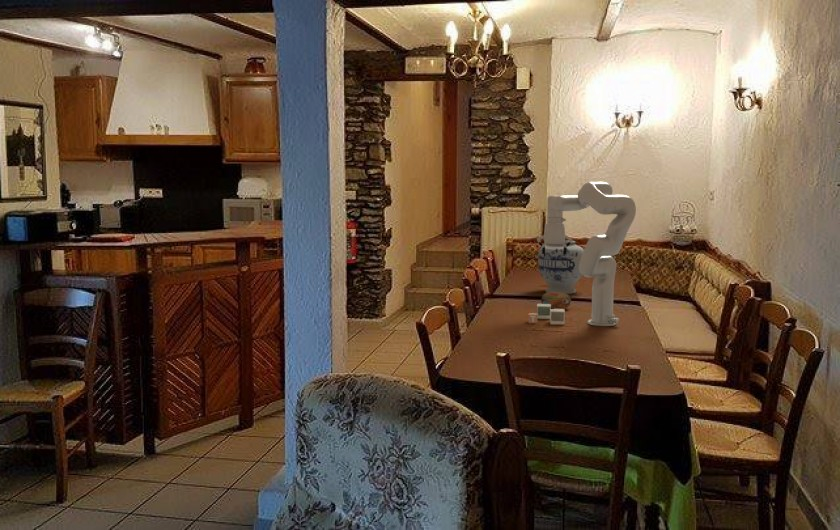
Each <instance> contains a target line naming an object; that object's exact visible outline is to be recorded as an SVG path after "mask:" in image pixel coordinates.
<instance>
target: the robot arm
mask: <svg viewBox="0 0 840 530" xmlns="http://www.w3.org/2000/svg"><path fill="white" fill-rule="evenodd" d="M546 203H547V204H546V209H547V210H546V223H545V224H544V233H543V235H541V236H539V237H537V238H536V241H537V244H538V245H539V246H540V248H542V254H544V256H545V246H546V245H548V244H563V246H564V251H563V256H565V254H566V251H567V247H568V246H569V245H570V244H571V242H572V241H573V238H572V237H570V236H568V235H566V229H565V227H566V226H565V223H563V222H566V221H567V220H566V218H564V217H563V214H564V212H577V211H581V210H584V209H587V208H589V207H591V208H592V209H593V210H594V211H595V212H597V213H598V214H600V215H603V216H604V215H607V216H610V215H611V216H612V215H616V216H615V217H614V218H613V219H612V220H611V222H610V223H609V224H608V227H607V229H606V232H605V233H603V234H597V235H594V236H591V237H590V238H589V239H588V241H587V242H586V244H585V247H584V248H583V250H584V252H583V255H582V257H581V260H580V264H579V270H580V273H581V274H582V276H583V277H585V278H593V281H592V285H591V315H590V316H591V317H590V319H588V320H587V324H588V325H591V326H596V327H613V326H616V325H617V324H619V322H620V318H618V317H616V314H614V293H615V291H614V288H615V284H614V283H615V277H616V272H617V265H618V264H617V262H616V259H615V258H614V257H613V256H615V255H618V254H619V253H620V251H621V248H622V247H623V244H624V241H625V239H626V237H627V234H628V232H629V229H630V227H631V226H632V224H633V222H634V220H635V217H636V213H637V208H636V207H637V206H636V203H635V201H634V199H633V198H632V197H631V196H629V195H624V194H613V187H612V185H611V184H609V183H608V182H605V181H588V182H586V183H584V184H582V186H581V188H580V189H579V190H578V192H577V194H573V195H568V194H567V195H549V196H548V197H547V202H546ZM542 239H543V243H542V242H541V240H542ZM565 240H569V242H568V243H567V244H565Z"/></svg>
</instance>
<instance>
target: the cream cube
mask: <svg viewBox="0 0 840 530" xmlns="http://www.w3.org/2000/svg"><path fill="white" fill-rule="evenodd" d="M565 310H566V309H550V319H549V322H550V323H549V324H550V325H565V321H566V320H565V319H566V317H565V315H566V314H565V312H566V311H565Z"/></svg>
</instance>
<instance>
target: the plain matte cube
mask: <svg viewBox="0 0 840 530" xmlns="http://www.w3.org/2000/svg"><path fill="white" fill-rule="evenodd" d="M550 309H551V304H542V303H537V304H536V313H537V320H538V319H539V320H540V319H542V320H543V319H545V320H547V319H548V320H550Z"/></svg>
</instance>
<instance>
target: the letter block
mask: <svg viewBox="0 0 840 530" xmlns="http://www.w3.org/2000/svg"><path fill="white" fill-rule="evenodd" d="M528 324H538V319H537V312H529V313H528Z"/></svg>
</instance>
